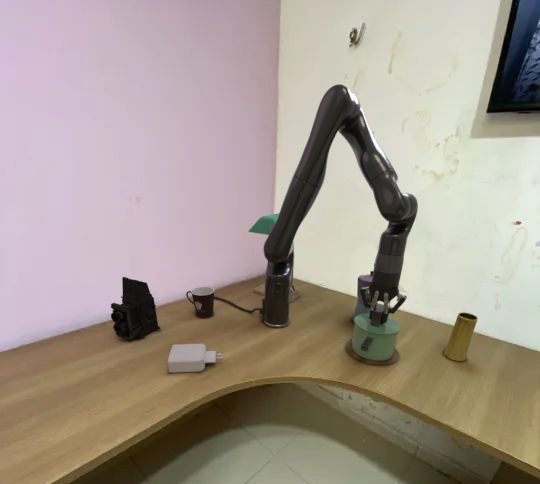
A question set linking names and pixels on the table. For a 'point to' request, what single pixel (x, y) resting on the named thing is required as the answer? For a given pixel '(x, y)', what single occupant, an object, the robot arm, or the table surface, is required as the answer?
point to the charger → (190, 358)
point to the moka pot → (360, 308)
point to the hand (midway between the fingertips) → (377, 321)
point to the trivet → (368, 361)
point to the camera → (134, 311)
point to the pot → (375, 335)
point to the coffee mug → (203, 301)
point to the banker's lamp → (265, 227)
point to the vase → (461, 336)
